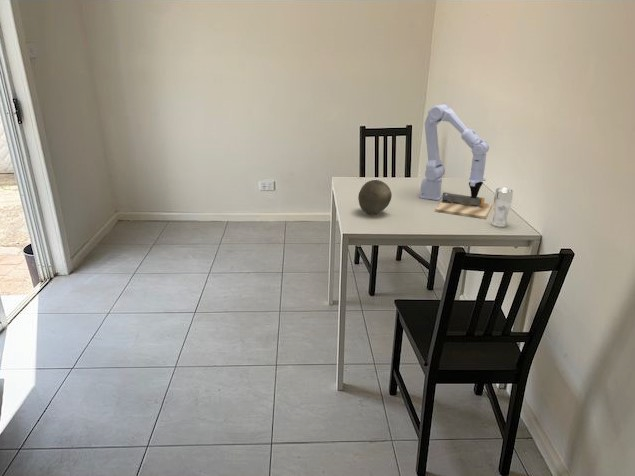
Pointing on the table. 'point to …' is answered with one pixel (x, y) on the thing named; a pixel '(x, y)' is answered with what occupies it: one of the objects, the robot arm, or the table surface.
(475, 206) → the label board
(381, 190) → the grey ball
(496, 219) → the beer glass
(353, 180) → the table surface
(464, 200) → the swing bar
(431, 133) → the robot arm
